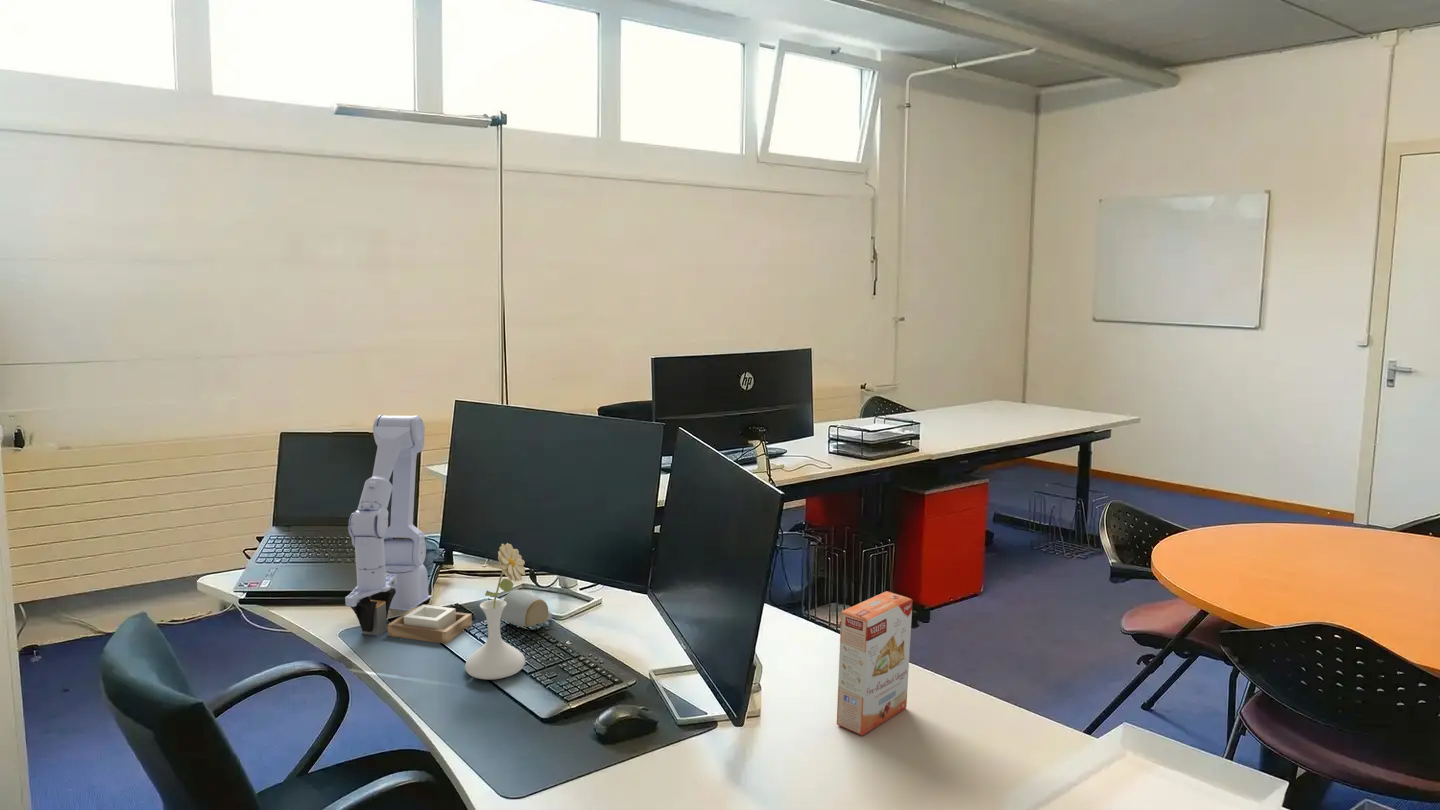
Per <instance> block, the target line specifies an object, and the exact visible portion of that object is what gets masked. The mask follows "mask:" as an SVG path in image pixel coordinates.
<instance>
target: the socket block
mask: <svg viewBox="0 0 1440 810" xmlns="http://www.w3.org/2000/svg"><path fill="white" fill-rule="evenodd" d="M417 607H418V608H417V609H415V610H413V611H412V612H410V613H409V614H407V615H405V616H404V624H405V625H412V626H420V627H428V628H435V629H443V630H445V629H446V628H448V627H449V626H450V625H452V624H453V623H455V622H456V612H457V611H456V610H457V609H456V608H454V607H445V606H437V605H432V604H431V605H429V604H421V605H420V606H417Z"/></svg>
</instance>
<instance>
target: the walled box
mask: <svg viewBox="0 0 1440 810" xmlns="http://www.w3.org/2000/svg"><path fill="white" fill-rule="evenodd" d="M418 607H419V606H416V607H414V608H413V609H411V610H409V611H406V612H405V613H404V614H402V615H400V616H399V617H397V618H395V619H394V620H392V621H391V622H389V623H387V636H388V637H393V638H401V639H408V640H409V639H410V640H416V641H422V642H423V641H424V642H430V643H438V644H444V645H446V644H447V645H448V643H450V642H451V641H452V640H454V639H455V638H456V637H455V636H457V635H458V634H459V635H461V634H462V633H463V632H462V631H463V630H464V629H466V628H468V627H469V626H470V627H472V626H473V615H472V613H467V612H466V613H465V612H460V611H459V612H458V611H456V622H455V623H453V624H452V625H450V626H449V627H448V628H446V629H445V630H443V629H435V628H428V627H420V626H412V625H405V624H404V616H405V615H407V614H409V613H410V612H412V611H413V610H415V609H417V608H418ZM470 627H469V628H470ZM469 628H468V629H469ZM466 630H467V629H466ZM461 632H462V633H461ZM460 633H461V634H460ZM459 635H458V636H459ZM458 636H457V637H458ZM454 637H455V638H454ZM453 638H454V639H453Z"/></svg>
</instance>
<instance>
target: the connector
mask: <svg viewBox="0 0 1440 810" xmlns="http://www.w3.org/2000/svg"><path fill="white" fill-rule="evenodd" d="M369 599H370V601H376V602H377V604H376V606H375V610H374V616H373V630H372V631H371V632H365V631H362V630H361V633H362V634H363V635H370V636H377V637H378V636H380V635H382V634H383V633H386V632H388V628H387V624H388V623H387V622H388V617H387V618H386V601H379V600H371V598H369Z"/></svg>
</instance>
